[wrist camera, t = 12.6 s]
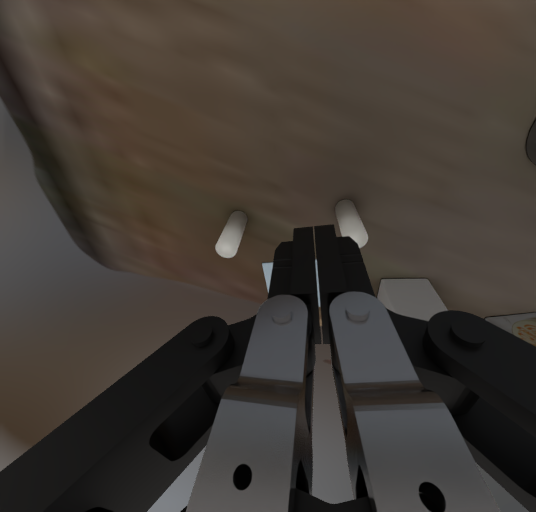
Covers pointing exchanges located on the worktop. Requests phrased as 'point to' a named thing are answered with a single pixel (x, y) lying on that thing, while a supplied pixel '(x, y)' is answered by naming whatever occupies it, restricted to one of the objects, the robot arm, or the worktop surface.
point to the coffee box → (518, 325)
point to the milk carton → (410, 298)
